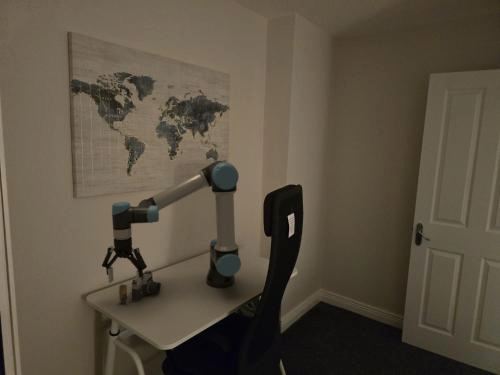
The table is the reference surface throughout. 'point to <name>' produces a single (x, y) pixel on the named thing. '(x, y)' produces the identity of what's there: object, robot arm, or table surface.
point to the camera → (144, 286)
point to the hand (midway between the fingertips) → (125, 282)
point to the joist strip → (127, 299)
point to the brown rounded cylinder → (123, 293)
